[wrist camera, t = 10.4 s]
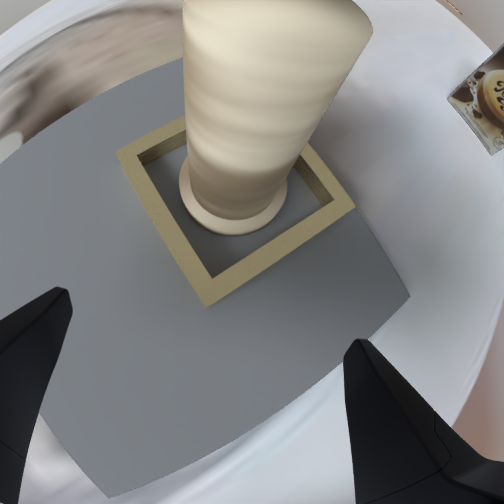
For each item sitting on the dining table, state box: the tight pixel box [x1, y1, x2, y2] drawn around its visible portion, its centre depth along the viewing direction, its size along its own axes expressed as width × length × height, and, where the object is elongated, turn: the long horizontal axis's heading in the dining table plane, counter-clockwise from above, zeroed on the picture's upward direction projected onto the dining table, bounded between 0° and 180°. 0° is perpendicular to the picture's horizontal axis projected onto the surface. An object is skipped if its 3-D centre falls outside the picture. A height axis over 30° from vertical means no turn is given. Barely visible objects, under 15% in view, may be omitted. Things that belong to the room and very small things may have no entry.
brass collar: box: [115, 116, 356, 308], centre depth 16 cm, size 10×10×2 cm
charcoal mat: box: [0, 58, 410, 498], centre depth 15 cm, size 24×24×1 cm
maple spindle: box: [179, 0, 373, 237], centre depth 11 cm, size 6×6×12 cm
